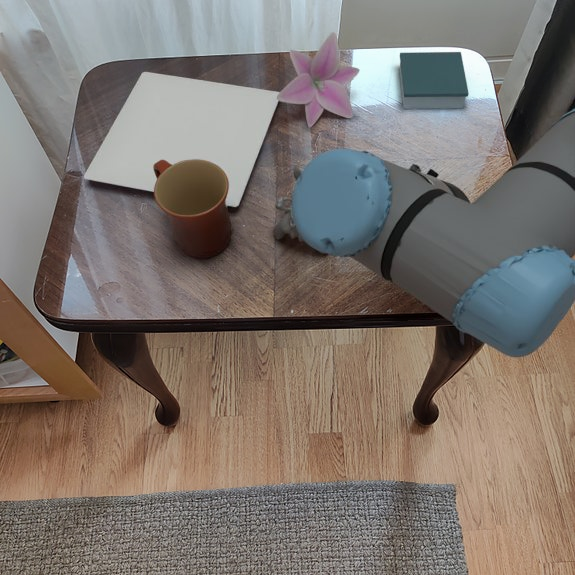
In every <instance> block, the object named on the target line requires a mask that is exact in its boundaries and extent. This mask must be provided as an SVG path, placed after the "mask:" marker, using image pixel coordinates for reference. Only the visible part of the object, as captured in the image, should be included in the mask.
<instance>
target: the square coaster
mask: <svg viewBox="0 0 575 575" xmlns="http://www.w3.org/2000/svg"><path fill="white" fill-rule="evenodd" d="M464 66H465V65H464V62H463V56H462V52H461V51H432V52H431V51H429V52H428V51H427V52H425V51H423V52H421V51H419V52H399V66H398V67H399V68H398V71H399V72H398V73H399V82H400V83H399V84H400V90H401V101H402V109H403V110H425V109H426V110H428V109H429V110H431V109H433V110H435V109H439V110H440V109H444V110H445V109H463V108H464V105H465V101H466V98H467V97H469V93H470V92H469V88H468V87H469V86H468V83H467V77H466V73H465V72H466V71H465V67H464Z"/></svg>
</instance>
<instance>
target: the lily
mask: <svg viewBox="0 0 575 575" xmlns="http://www.w3.org/2000/svg"><path fill="white" fill-rule="evenodd" d="M289 56H290V59H291V62H292V64H293V67H294V69H295V72H296V73H297V76H296V77H295V78H294V79H292V80H291V81H290V82H289V83H287V85H286V86H285V87H283V88H282V89H281V90H280V91H279V92H280V93H279V94H278V95H277V98H276V99H277V100H278V102H280V103H281V102H282V103H286V104H295V105H304V107H305V108H304V110H305V119H306V123H307V127H308V128H311V127H313V126H314V125H315V124H316V122H317V121H318V119H319V118H320V117H321V115H322V114H323V112H324V110H326V111H328V112H330V113H333V114H335V115H338V116H340V117H343V118H346V119H353V117H354V110H353V106H352V103H351V99H350V97H349V95H348V92H347V90H346V89H345V87H346V86H347V85H348V84H349V83H350V82H351V81H353V79H355V78H356V77H357V76H358V74H359V73H360V71H361V70H360V68H359V67H354V66H348V65H340V61H341V60H340V58H341V57H340V48H339V41H338V36H337V34H336V32H335V31H333V32H331V33H330V34H329V35H328V36H327V38H326V39H325V40H324V41H323V43H322V45H321V46H320V47H319V49H318V50H317V52H316V53H315V55H314V56H313V58H312V57H311V56H309V55H307V54H305V53H303V52H300V51H298V50H294V49H290V50H289Z"/></svg>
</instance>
